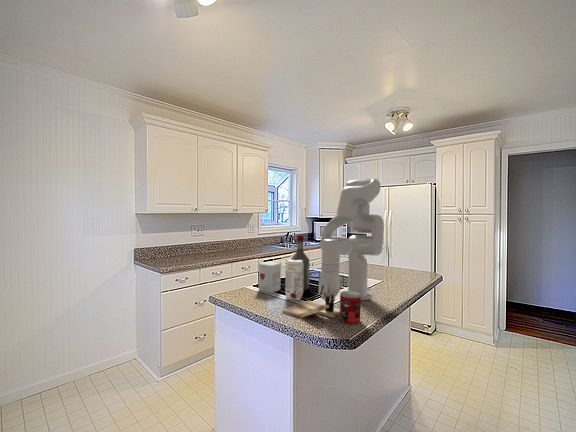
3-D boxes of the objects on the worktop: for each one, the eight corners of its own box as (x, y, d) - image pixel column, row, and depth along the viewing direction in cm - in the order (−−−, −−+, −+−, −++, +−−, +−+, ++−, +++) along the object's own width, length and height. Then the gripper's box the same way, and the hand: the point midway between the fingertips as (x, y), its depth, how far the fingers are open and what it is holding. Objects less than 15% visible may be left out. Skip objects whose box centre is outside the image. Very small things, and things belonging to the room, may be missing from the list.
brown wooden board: (308, 302, 138) (308, 300, 138) (324, 307, 132) (324, 304, 132) (282, 312, 125) (282, 309, 125) (299, 318, 119) (299, 315, 119)
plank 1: (313, 312, 124) (312, 310, 125) (329, 307, 119) (328, 304, 119) (300, 318, 118) (299, 314, 119) (317, 312, 113) (316, 309, 113)
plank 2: (325, 307, 131) (325, 305, 131) (343, 312, 125) (343, 309, 125) (314, 312, 125) (314, 309, 125) (332, 317, 119) (332, 314, 119)
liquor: (304, 285, 170) (304, 234, 169) (310, 289, 161) (311, 236, 161) (289, 286, 167) (290, 234, 167) (294, 291, 158) (295, 236, 158)
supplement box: (258, 291, 158) (258, 263, 158) (267, 287, 165) (267, 261, 165) (271, 293, 153) (272, 265, 153) (280, 289, 161) (281, 262, 160)
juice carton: (301, 300, 141) (302, 262, 141) (284, 299, 143) (284, 261, 142) (303, 296, 148) (304, 259, 148) (287, 295, 150) (287, 258, 150)
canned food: (337, 317, 120) (338, 291, 119) (356, 317, 120) (357, 290, 120) (342, 324, 112) (343, 296, 112) (363, 324, 113) (363, 296, 112)
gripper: (332, 264, 132) (331, 305, 132) (312, 268, 121) (311, 312, 121) (347, 267, 126) (346, 309, 126) (327, 271, 115) (326, 317, 115)
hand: (329, 310), depth 123 cm, fingers closed
